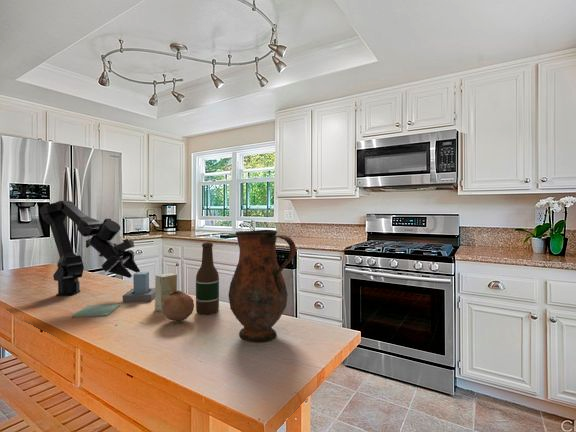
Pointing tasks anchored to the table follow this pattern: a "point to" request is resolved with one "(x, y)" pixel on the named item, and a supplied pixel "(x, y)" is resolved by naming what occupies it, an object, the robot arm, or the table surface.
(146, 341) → the table surface
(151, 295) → the square socket block
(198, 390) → the table surface
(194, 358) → the table surface
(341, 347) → the table surface
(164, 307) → the onion
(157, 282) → the skincare box
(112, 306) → the green mat
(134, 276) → the tall square blue prism
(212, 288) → the beer bottle
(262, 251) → the pitcher
